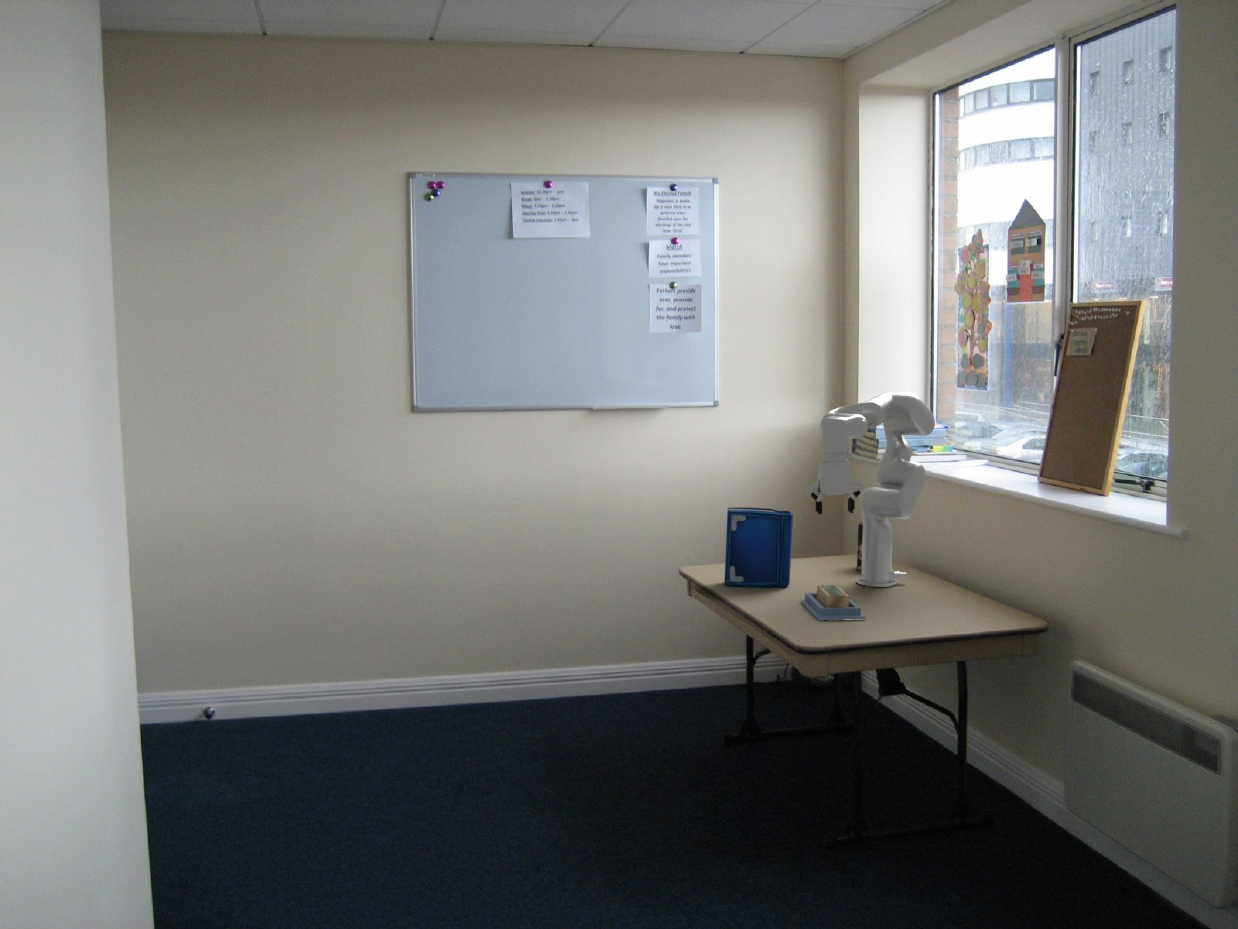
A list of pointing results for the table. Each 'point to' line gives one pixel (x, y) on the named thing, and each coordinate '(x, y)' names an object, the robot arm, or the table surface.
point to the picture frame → (832, 596)
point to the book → (758, 547)
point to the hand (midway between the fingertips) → (835, 513)
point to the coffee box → (859, 546)
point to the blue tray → (831, 609)
